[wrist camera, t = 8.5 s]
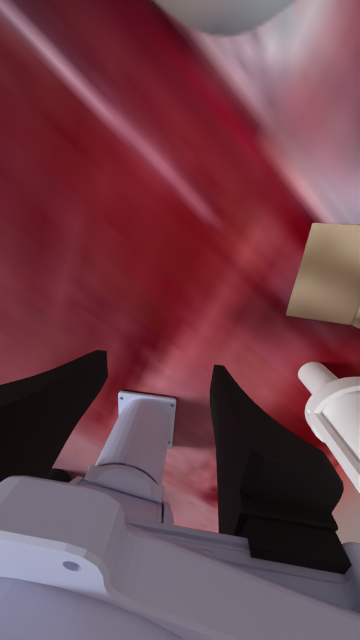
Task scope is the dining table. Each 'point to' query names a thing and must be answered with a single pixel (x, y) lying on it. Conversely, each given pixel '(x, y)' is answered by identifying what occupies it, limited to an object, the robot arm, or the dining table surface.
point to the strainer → (335, 415)
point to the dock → (329, 276)
